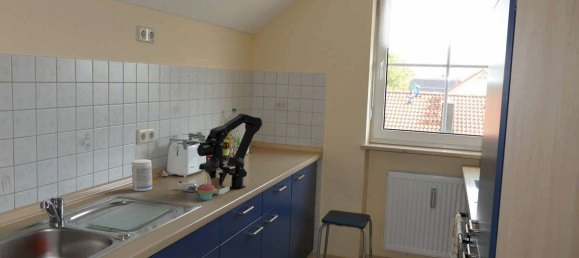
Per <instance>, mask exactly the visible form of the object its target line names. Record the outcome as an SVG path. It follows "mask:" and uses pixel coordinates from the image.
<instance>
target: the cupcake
mask: <svg viewBox="0 0 579 258" xmlns="http://www.w3.org/2000/svg"><path fill="white" fill-rule="evenodd" d="M204 179H205V180H204V182H205V183H203V184H201V185H200V184H199V186H198V187H197V188H198V189H197V191H198V192H197V193H198V194H199V196H200V199H201V200H202V201H209V200H212V198H213V197H212V196H213V195H214V194H213V192H215V187H214V186H213V185H211V184H210V183H207V181H208V179H207V172H205V175H204Z"/></svg>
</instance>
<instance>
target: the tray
mask: <svg viewBox="0 0 579 258" xmlns="http://www.w3.org/2000/svg"><path fill="white" fill-rule="evenodd" d="M230 186H231V185H230ZM230 186H229V185H223V188H222V189H219V190H218V189H215V192H213V194H212V195H216V194H217V196H220V194H221V195H223V194H225V192H226V193H228V191H229V192H230V191H231V188H230Z"/></svg>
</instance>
